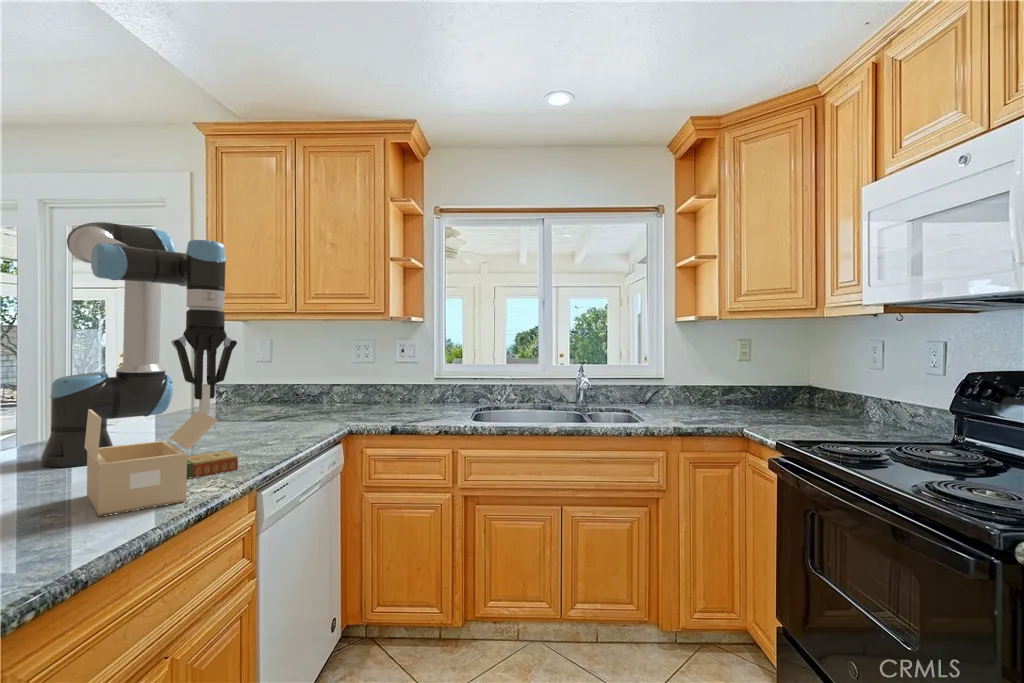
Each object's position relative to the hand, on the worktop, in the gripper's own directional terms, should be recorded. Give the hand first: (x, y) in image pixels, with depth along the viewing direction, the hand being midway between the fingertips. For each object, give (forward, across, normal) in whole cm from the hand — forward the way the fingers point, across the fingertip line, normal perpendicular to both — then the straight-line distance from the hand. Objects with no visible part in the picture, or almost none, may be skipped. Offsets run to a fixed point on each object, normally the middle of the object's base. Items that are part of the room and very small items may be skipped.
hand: (204, 413), depth 119 cm
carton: (+18, +2, +15) cm, 23 cm away
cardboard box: (+17, -13, 0) cm, 21 cm away
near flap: (+2, -20, 0) cm, 20 cm away
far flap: (+3, -2, 0) cm, 4 cm away
